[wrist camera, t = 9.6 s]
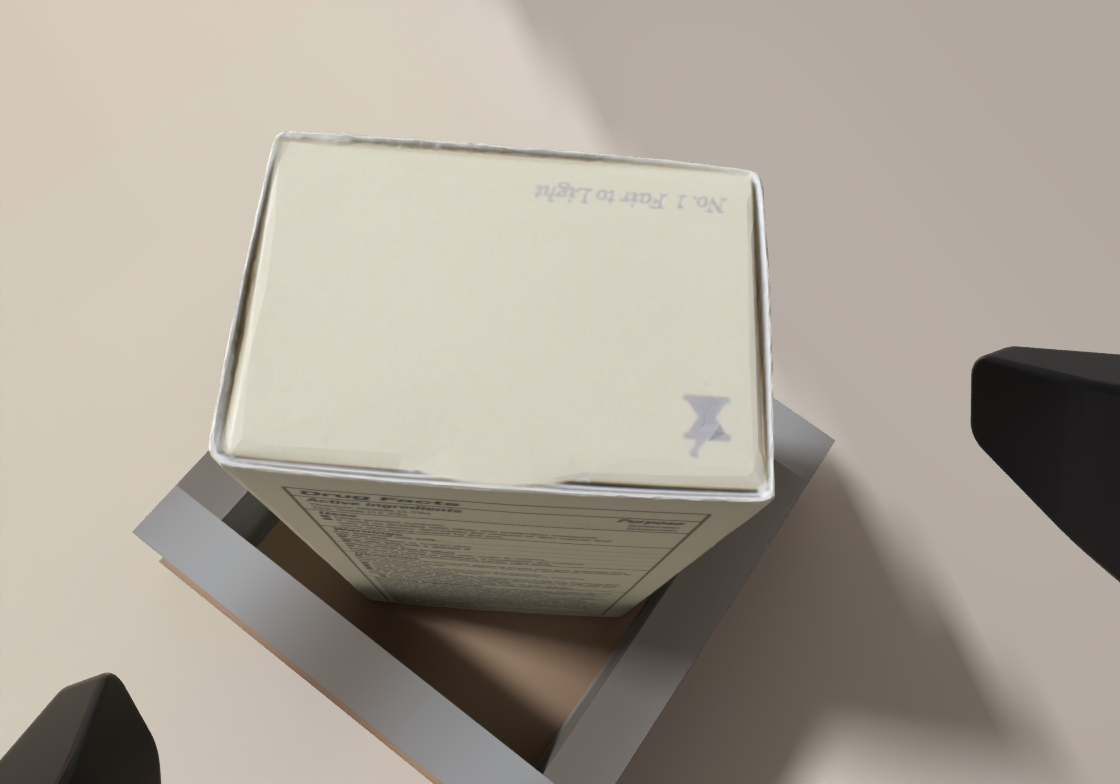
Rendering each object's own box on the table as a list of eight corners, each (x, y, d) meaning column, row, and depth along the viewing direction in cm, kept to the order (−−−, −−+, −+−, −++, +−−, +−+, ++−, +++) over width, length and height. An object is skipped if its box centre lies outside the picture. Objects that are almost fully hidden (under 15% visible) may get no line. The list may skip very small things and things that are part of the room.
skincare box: (629, 445, 23) (786, 158, 11) (623, 629, 21) (799, 511, 10) (374, 425, 22) (270, 106, 11) (349, 610, 21) (196, 464, 9)
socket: (793, 484, 24) (853, 437, 20) (544, 869, 20) (560, 901, 16) (460, 250, 25) (458, 166, 21) (172, 568, 22) (109, 534, 18)
